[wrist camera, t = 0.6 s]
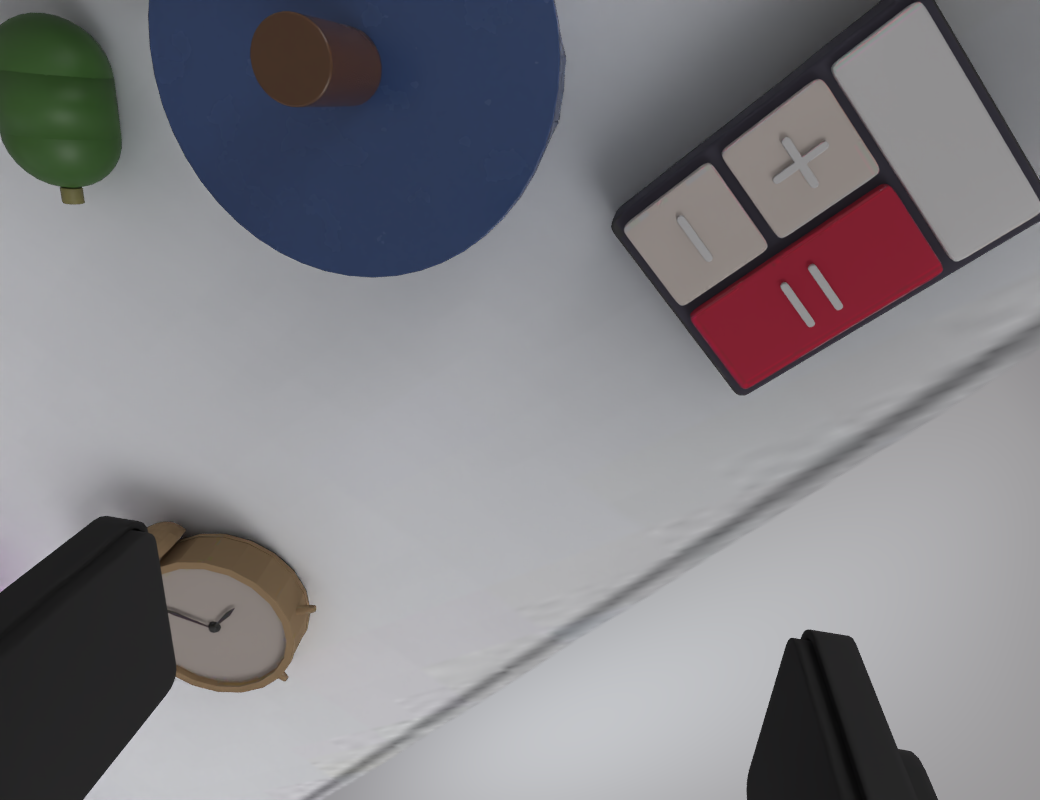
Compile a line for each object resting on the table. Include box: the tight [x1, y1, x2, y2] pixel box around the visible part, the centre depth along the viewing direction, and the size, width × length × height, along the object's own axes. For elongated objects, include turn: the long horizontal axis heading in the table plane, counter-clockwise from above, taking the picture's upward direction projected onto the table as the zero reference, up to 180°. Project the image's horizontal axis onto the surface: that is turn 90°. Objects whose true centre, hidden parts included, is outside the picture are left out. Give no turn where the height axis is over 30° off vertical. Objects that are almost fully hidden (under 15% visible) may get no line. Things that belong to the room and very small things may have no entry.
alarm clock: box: [147, 522, 316, 692], centre depth 48 cm, size 11×5×15 cm
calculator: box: [611, 0, 1040, 395], centre depth 32 cm, size 11×4×15 cm
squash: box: [0, 13, 122, 204], centre depth 35 cm, size 9×5×5 cm, turn 175°
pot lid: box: [148, 0, 562, 277], centre depth 23 cm, size 15×15×6 cm
